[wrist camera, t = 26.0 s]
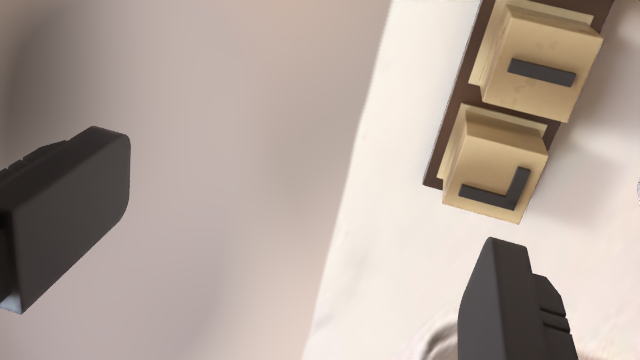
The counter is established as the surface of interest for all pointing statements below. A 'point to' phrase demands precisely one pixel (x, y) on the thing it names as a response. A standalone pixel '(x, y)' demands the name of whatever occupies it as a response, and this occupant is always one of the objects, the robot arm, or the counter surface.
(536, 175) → the letter L
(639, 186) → the bottle
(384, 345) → the counter surface
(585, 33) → the letter I
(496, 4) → the word board
